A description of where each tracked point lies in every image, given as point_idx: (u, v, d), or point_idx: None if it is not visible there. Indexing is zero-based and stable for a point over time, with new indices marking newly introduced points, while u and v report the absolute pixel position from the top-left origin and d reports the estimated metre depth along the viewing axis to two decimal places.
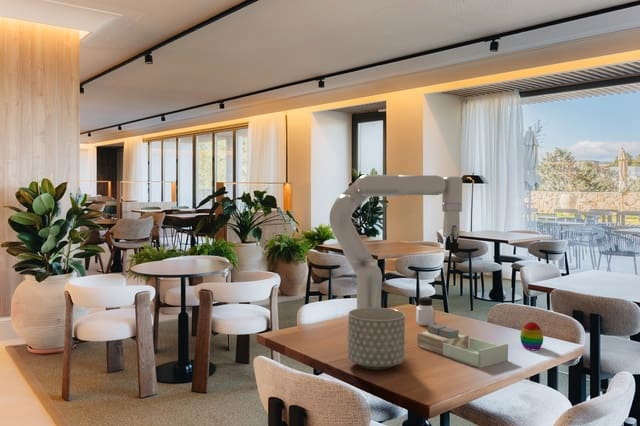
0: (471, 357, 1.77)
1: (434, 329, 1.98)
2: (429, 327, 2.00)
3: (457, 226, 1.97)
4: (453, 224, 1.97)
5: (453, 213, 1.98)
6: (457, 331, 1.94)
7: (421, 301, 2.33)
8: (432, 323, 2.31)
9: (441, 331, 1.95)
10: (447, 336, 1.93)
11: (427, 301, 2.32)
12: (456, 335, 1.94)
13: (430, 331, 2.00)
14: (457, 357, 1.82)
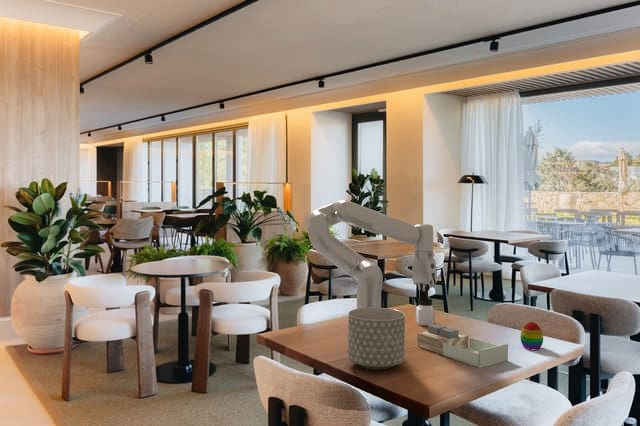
0: (471, 357, 1.77)
1: (434, 329, 1.98)
2: (429, 327, 2.00)
3: None
4: None
5: None
6: (457, 331, 1.94)
7: (421, 301, 2.33)
8: (432, 323, 2.31)
9: (441, 331, 1.95)
10: (447, 336, 1.93)
11: (427, 301, 2.32)
12: (456, 335, 1.94)
13: (430, 331, 2.00)
14: (457, 357, 1.82)
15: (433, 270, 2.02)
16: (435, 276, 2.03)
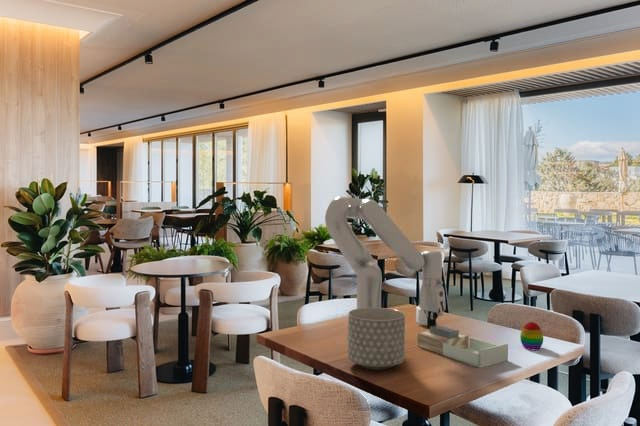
0: (471, 357, 1.77)
1: (436, 330, 1.97)
2: (431, 328, 2.00)
3: None
4: None
5: None
6: (457, 331, 1.94)
7: None
8: None
9: (441, 331, 1.95)
10: (447, 336, 1.93)
11: None
12: (456, 335, 1.94)
13: (432, 332, 1.99)
14: (457, 357, 1.82)
15: (441, 298, 1.99)
16: (443, 304, 1.99)
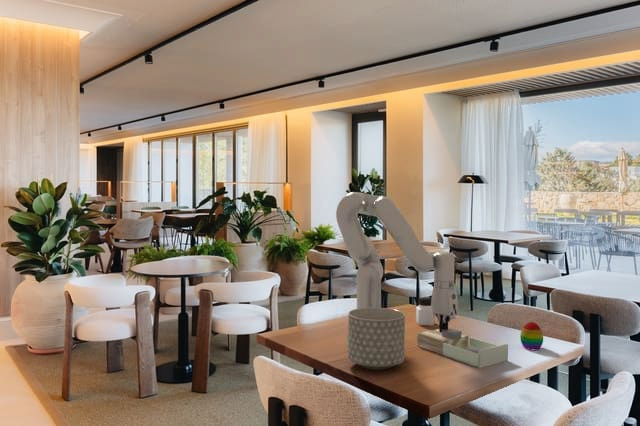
0: (471, 357, 1.77)
1: (449, 333, 1.92)
2: (443, 331, 1.94)
3: None
4: None
5: None
6: None
7: (421, 301, 2.33)
8: (432, 323, 2.31)
9: None
10: None
11: (427, 301, 2.32)
12: None
13: (444, 335, 1.94)
14: (457, 357, 1.82)
15: (454, 301, 1.93)
16: (456, 307, 1.94)
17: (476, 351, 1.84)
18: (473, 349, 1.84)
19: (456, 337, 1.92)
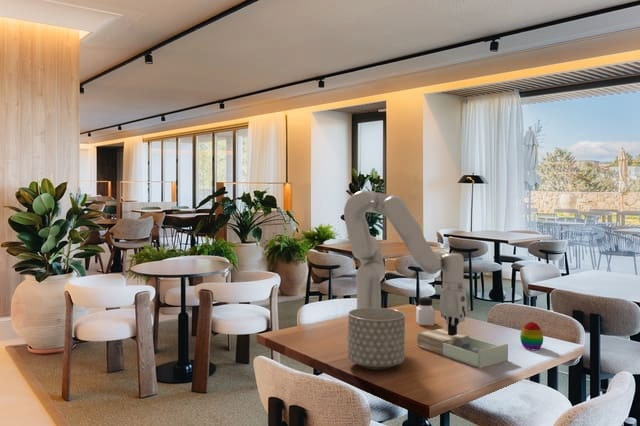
0: (471, 357, 1.77)
1: None
2: (462, 344, 1.87)
3: None
4: None
5: None
6: None
7: (421, 301, 2.33)
8: (432, 323, 2.31)
9: None
10: None
11: (427, 301, 2.32)
12: None
13: (458, 342, 1.89)
14: (457, 357, 1.82)
15: (463, 303, 1.90)
16: (465, 309, 1.90)
17: (476, 351, 1.84)
18: (473, 350, 1.84)
19: None
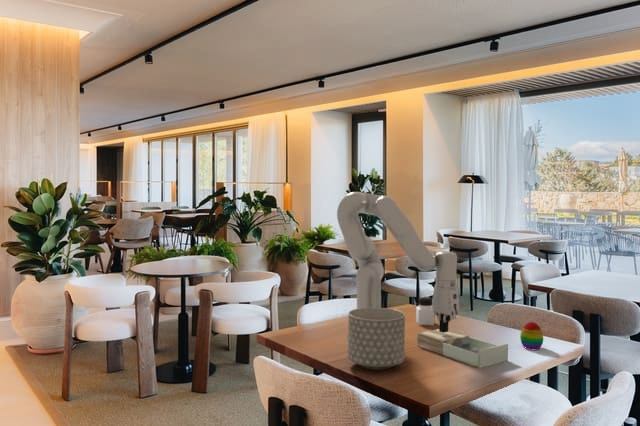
0: (471, 357, 1.77)
1: None
2: (462, 344, 1.87)
3: None
4: None
5: None
6: None
7: (421, 301, 2.33)
8: (432, 323, 2.31)
9: None
10: None
11: (427, 301, 2.32)
12: None
13: (458, 342, 1.89)
14: (457, 357, 1.82)
15: (455, 301, 1.93)
16: (457, 307, 1.93)
17: (476, 351, 1.84)
18: (473, 350, 1.84)
19: None
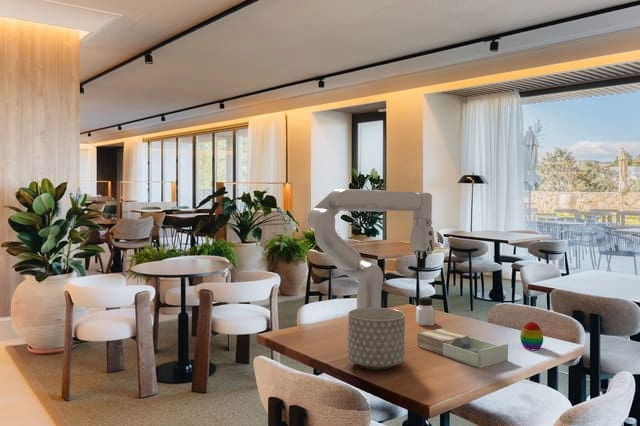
0: (471, 357, 1.77)
1: None
2: (462, 344, 1.87)
3: None
4: None
5: None
6: None
7: (421, 301, 2.33)
8: (432, 323, 2.31)
9: None
10: None
11: (427, 301, 2.32)
12: None
13: (458, 342, 1.89)
14: (457, 357, 1.82)
15: (431, 237, 2.05)
16: (432, 243, 2.06)
17: (476, 351, 1.84)
18: (473, 350, 1.84)
19: None
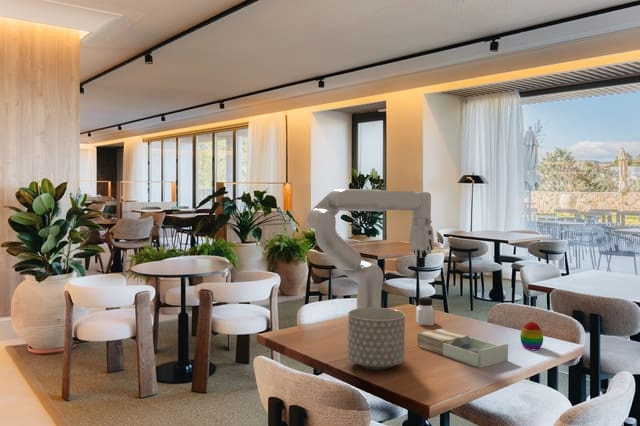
0: (471, 357, 1.77)
1: None
2: (462, 344, 1.87)
3: None
4: None
5: None
6: None
7: (421, 301, 2.33)
8: (432, 323, 2.31)
9: None
10: None
11: (427, 301, 2.32)
12: None
13: (458, 342, 1.89)
14: (457, 357, 1.82)
15: (430, 237, 2.06)
16: (432, 243, 2.07)
17: (476, 351, 1.84)
18: (473, 350, 1.84)
19: None
